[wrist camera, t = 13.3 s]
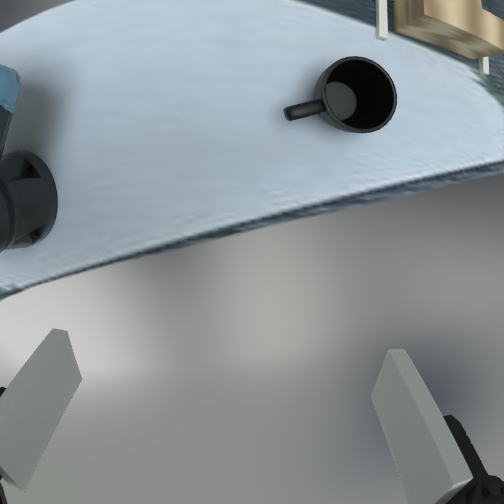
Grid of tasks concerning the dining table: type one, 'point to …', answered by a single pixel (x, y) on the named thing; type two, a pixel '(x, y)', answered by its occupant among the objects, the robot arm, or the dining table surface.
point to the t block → (451, 25)
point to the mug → (351, 96)
